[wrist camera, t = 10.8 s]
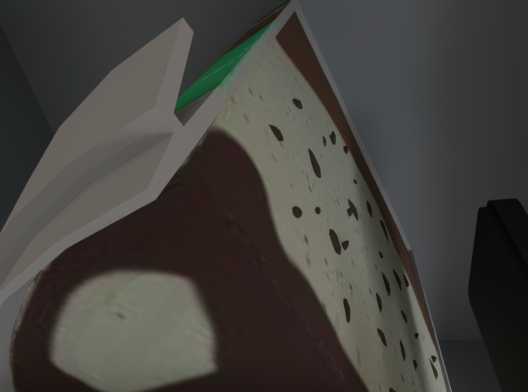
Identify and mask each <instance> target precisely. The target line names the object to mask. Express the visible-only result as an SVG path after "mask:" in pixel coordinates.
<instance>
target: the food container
mask: <svg viewBox="0 0 528 392" xmlns="http://www.w3.org/2000/svg"><path fill="white" fill-rule="evenodd" d="M193 33H194V32H193V30H192V29H191V28H190V26H189V25H188V24H187V22H186V21H185V20H184V18H181V19H180V20H179V21H177V22H176V23H175V24H173V25H172V26H171V27H169V28H168V29H167V30H165V31H164V32H162V33H161V34H160V35H158V36H157V37H156V38H154V39H153V40H152V41H150V42H149V43H148V44H146V45H145V46H144V47H142V48H141V49H140V50H138V51H137V52H136V53H134V54H133V55H132V56H130V57H129V58H128V59H126V60H125V61H124V62H122V63H121V64H119V65H118V66H117V67H115V68H114V69H113V70H112V71H111V72H110V73H109V74H108V75H107V76H106V77H105V78H104V79H103V80H102V81H101V83H100V84H99V85H98V86H97V87H96V88H95V89H94V90H93V91H92V92H91V93H90V94H89V96H88V97H87V98H86V99H85V100H84V101H83V102H82V103H81V104H80V105H79V106H78V108H77V109H76V110H75V111H74V112H73V113H72V114H71V115H70V116H69V117H68V118H67V119H66V121H65V122H64V123H63V124H62V125H61V126H60V127H59V129H58V130H57V132H56V134H55V136H54V137H53V139H52V141H51V143H50V144H49V146H48V148H47V149H46V151H45V153H44V155H43V156H42V158H41V160H40V162H39V163H38V165H37V167H36V168H35V170H34V172H33V174H32V175H31V177H30V179H29V181H28V182H27V184H26V186H25V188H24V190H23V192H22V194H21V195H20V197H19V199H18V201H17V203H16V205H15V207H14V208H13V210H12V212H11V214H10V216H9V218H8V220H7V222H6V223H5V225H4V227H3V229H2V231H1V233H0V392H452V390H451V386H450V383H449V379H448V376H447V372H446V368H445V365H444V361H443V358H442V354H441V350H440V347H439V343H438V339H437V336H436V332H435V329H434V325H433V321H432V318H431V314H430V311H429V307H428V303H427V300H426V296H425V292H424V289H423V285H422V282H421V278H420V274H419V271H418V267H417V264H416V260H415V256H414V253H413V249H412V247H411V245H410V243H409V241H408V238H407V236H406V234H405V232H404V230H403V228H402V225H401V223H400V221H399V219H398V217H397V215H396V212H395V210H394V208H393V206H392V204H391V202H390V199H389V197H388V195H387V193H386V191H385V189H384V186H383V184H382V182H381V180H380V178H379V176H378V173H377V171H376V169H375V167H374V165H373V163H372V160H371V158H370V156H369V154H368V152H367V150H366V147H365V145H364V143H363V141H362V139H361V137H360V134H359V132H358V130H357V128H356V126H355V124H354V121H353V119H352V117H351V115H350V113H349V111H348V108H347V106H346V104H345V102H344V100H343V98H342V95H341V93H340V91H339V89H338V87H337V85H336V82H335V80H334V78H333V76H332V74H331V72H330V69H329V67H328V65H327V63H326V61H325V59H324V56H323V54H322V52H321V50H320V48H319V46H318V44H317V41H316V39H315V37H314V35H313V33H312V31H311V28H310V26H309V24H308V22H307V20H306V18H305V15H304V13H303V11H302V9H301V7H300V5H299V2H298V0H288V1H287V2H285V3H284V4H282V5H281V6H279V7H278V8H276V9H275V10H273V11H272V12H270V13H269V14H267V15H266V16H264V17H263V18H262V19H260V20H259V21H257V22H256V23H255V24H254V25H253V26H252V27H251V28H250V29H249V30H248V31H247V32H246V33H245V34H244V35H243V36H242V37H241V38H240V39H239V40H238V41H237V42H236V43H235V44H234V45H233V46H232V47H231V48H230V49H229V50H228V51H227V52H226V53H224V54H223V55H222V56H221V57H220V58H219V59H218V60H217V61H216V62H215V63H214V64H213V65H212V66H211V67H210V68H209V69H208V70H207V71H206V72H205V73H204V74H203V75H202V76H201V77H200V78H199V79H198V80H197V81H196V82H195V83H194V84H193V85H192V86H191V87H190V88H189V89H188V90H187V91H186V92H185V93H183V94H182V95H181V96H180V97H179V98H178V94H179V90H180V85H181V81H182V77H183V73H184V69H185V65H186V61H187V57H188V53H189V49H190V45H191V41H192V37H193ZM177 98H178V99H177Z"/></svg>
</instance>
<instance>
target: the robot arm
mask: <svg viewBox="0 0 528 392" xmlns="http://www.w3.org/2000/svg"><path fill="white" fill-rule="evenodd" d="M468 296H469V302H470V305H471V308H472V310H473V313H474V316H475V319H476V321H477V324H478V327H479V330H480V333H481V335H482V338H483V341H484V344H485V346H486V349H487V352H488V355H489V357H490V360H491V363H492V366H493V369H494V371H495V374H496V377H497V380H498V382H499V385H500V388H501V391H502V392H528V214H527V212H526V211H525V209H524V208H523V206H522V204H521V203H520V201H519V200H518V199H516V198H511V199H498V200H489V201H488V202H487V205H486V207H480V208H479V209H478V214H477V222H476V230H475V238H474V245H473V253H472V261H471V269H470V277H469V285H468Z"/></svg>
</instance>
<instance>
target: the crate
mask: <svg viewBox="0 0 528 392" xmlns="http://www.w3.org/2000/svg"><path fill="white" fill-rule="evenodd" d="M287 1H288V0H0V233H1V231H2V229H3V227H4V225H5V223H6V222H7V220H8V218H9V216H10V214H11V212H12V210H13V208H14V207H15V205H16V203H17V201H18V199H19V197H20V195H21V194H22V192H23V190H24V188H25V186H26V184H27V182H28V181H29V179H30V177H31V175H32V174H33V172H34V170H35V168H36V167H37V165H38V163H39V162H40V160H41V158H42V156H43V155H44V153H45V151H46V149H47V148H48V146H49V144H50V143H51V141H52V139H53V137H54V136H55V134H56V132H57V130H58V129H59V127H60V126H61V125H62V124H63V123H64V122H65V121H66V119H67V118H68V117H69V116H70V115H71V114H72V113H73V112H74V111H75V110H76V109H77V108H78V106H79V105H80V104H81V103H82V102H83V101H84V100H85V99H86V98H87V97H88V96H89V94H90V93H91V92H92V91H93V90H94V89H95V88H96V87H97V86H98V85H99V84H100V83H101V81H102V80H103V79H104V78H105V77H106V76H107V75H108V74H109V73H110V72H111V71H112V70H113V69H114V68H115V67H117V66H118V65H119V64H121V63H122V62H124V61H125V60H126V59H128V58H129V57H130V56H132V55H133V54H134V53H136V52H137V51H138V50H140V49H141V48H142V47H144V46H145V45H146V44H148V43H149V42H150V41H152V40H153V39H154V38H156V37H157V36H158V35H160V34H161V33H162V32H164V31H165V30H167V29H168V28H169V27H171V26H172V25H173V24H175V23H176V22H177V21H179V20H180V19H181V18H184V20H185V21H186V22H187V24H188V25H189V26H190V28H191V29H192V30H193V32H194V33H193V37H192V41H191V45H190V49H189V53H188V57H187V61H186V65H185V69H184V73H183V77H182V81H181V85H180V90H179V94H178V98H179V97H180V96H181V95H182V94H183V93H185V92H186V91H187V90H188V89H189V88H190V87H191V86H192V85H193V84H194V83H195V82H196V81H197V80H198V79H199V78H200V77H201V76H202V75H203V74H204V73H205V72H206V71H207V70H208V69H209V68H210V67H211V66H212V65H213V64H214V63H215V62H216V61H217V60H218V59H219V58H220V57H221V56H222V55H223V54H224V53H226V52H227V51H228V50H229V49H230V48H231V47H232V46H233V45H234V44H235V43H236V42H237V41H238V40H239V39H240V38H241V37H242V36H243V35H244V34H245V33H246V32H247V31H248V30H249V29H250V28H251V27H252V26H253V25H254V24H255V23H256V22H257V21H259V20H260V19H262V18H263V17H264V16H266V15H267V14H269V13H270V12H272V11H273V10H275V9H276V8H278V7H279V6H281V5H282V4H284V3H285V2H287ZM298 2H299V5H300V7H301V9H302V11H303V13H304V15H305V18H306V20H307V22H308V24H309V26H310V28H311V31H312V33H313V35H314V37H315V39H316V41H317V44H318V46H319V48H320V50H321V52H322V54H323V56H324V59H325V61H326V63H327V65H328V67H329V69H330V72H331V74H332V76H333V78H334V80H335V82H336V85H337V87H338V89H339V91H340V93H341V95H342V98H343V100H344V102H345V104H346V106H347V108H348V111H349V113H350V115H351V117H352V119H353V121H354V124H355V126H356V128H357V130H358V132H359V134H360V137H361V139H362V141H363V143H364V145H365V147H366V150H367V152H368V154H369V156H370V158H371V160H372V163H373V165H374V167H375V169H376V171H377V173H378V176H379V178H380V180H381V182H382V184H383V186H384V189H385V191H386V193H387V195H388V197H389V199H390V202H391V204H392V206H393V208H394V210H395V212H396V215H397V217H398V219H399V221H400V223H401V225H402V228H403V230H404V232H405V234H406V236H407V238H408V241H409V243H410V245H411V247H412V249H413V253H414V256H415V260H416V264H417V267H418V271H419V274H420V278H421V282H422V285H423V289H424V292H425V296H426V300H427V303H428V307H429V311H430V314H431V318H432V321H433V325H434V329H435V332H436V336H437V339H438V343H439V347H440V350H441V354H442V358H443V361H444V365H445V368H446V372H447V376H448V379H449V383H450V386H451V390H452V392H502V391H501V388H500V385H499V382H498V380H497V377H496V374H495V371H494V369H493V366H492V363H491V360H490V357H489V355H488V352H487V349H486V346H485V344H484V341H483V338H482V335H481V333H480V330H479V327H478V324H477V321H476V319H475V316H474V313H473V310H472V308H471V305H470V302H469V296H468V285H469V277H470V269H471V261H472V253H473V245H474V238H475V230H476V222H477V214H478V209H479V208H480V207H486V205H487V202H488V201H489V200H498V199H511V198H516V199H518V200H519V201H520V203H521V204H522V206H523V208H524V209H525V211H526V212H527V214H528V0H298ZM178 98H177V99H178Z"/></svg>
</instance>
